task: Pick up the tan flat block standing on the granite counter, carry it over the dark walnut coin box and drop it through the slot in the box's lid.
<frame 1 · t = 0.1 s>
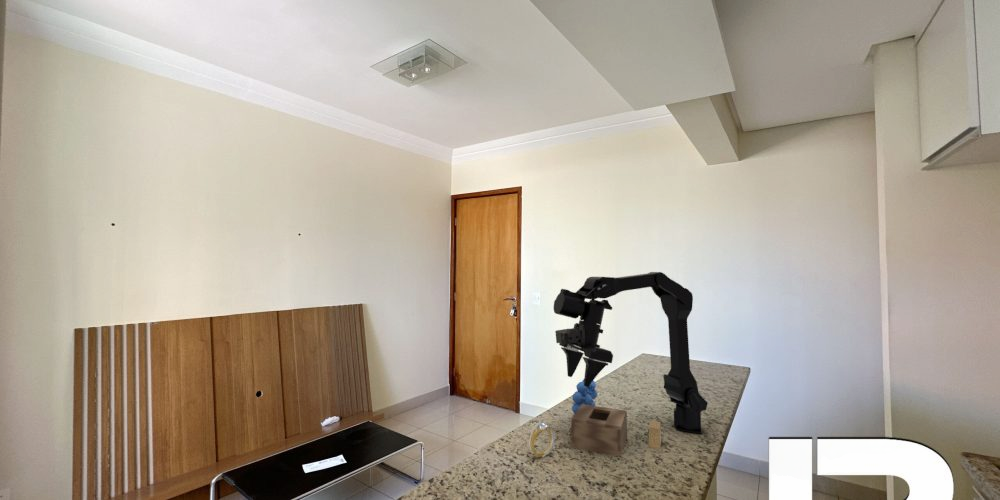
hand: (577, 381, 101), 15 cm above the countertop, tool pointing down, fingers open, 9 cm apart
tan flat block: (655, 444, 99), on the countertop
ring: (542, 457, 91), on the countertop
grapes: (582, 418, 116), on the countertop
coin box: (600, 442, 100), on the countertop
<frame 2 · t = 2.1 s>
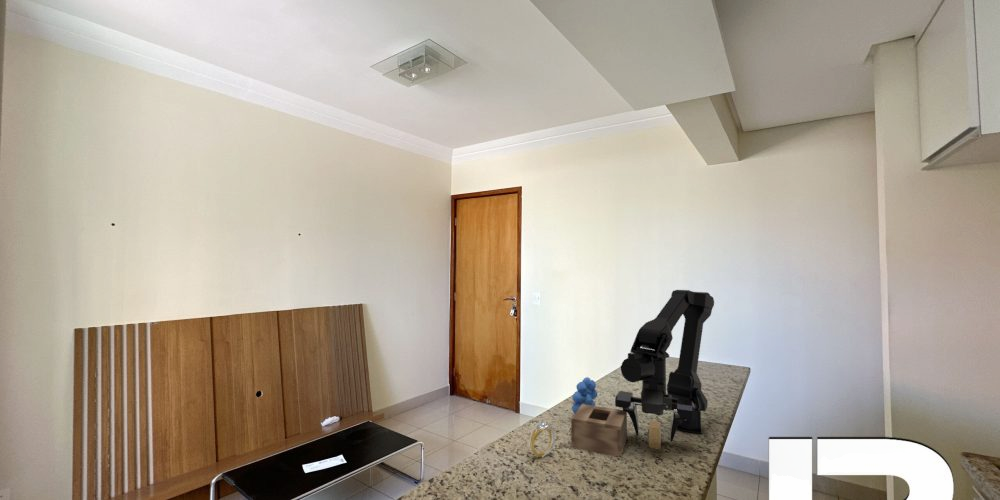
hand: (654, 438, 99), 2 cm above the countertop, tool pointing down, fingers open, 8 cm apart
nothing on the countertop moved.
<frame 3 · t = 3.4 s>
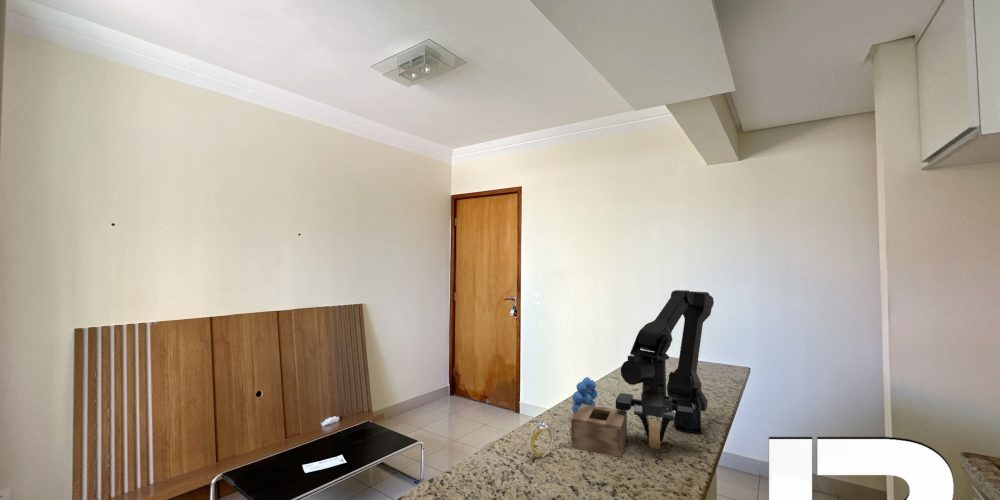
hand: (655, 440, 99), 1 cm above the countertop, tool pointing down, fingers closed on tan flat block, 2 cm apart
tan flat block: (655, 444, 99), on the countertop, touching gripper
everything else where it was.
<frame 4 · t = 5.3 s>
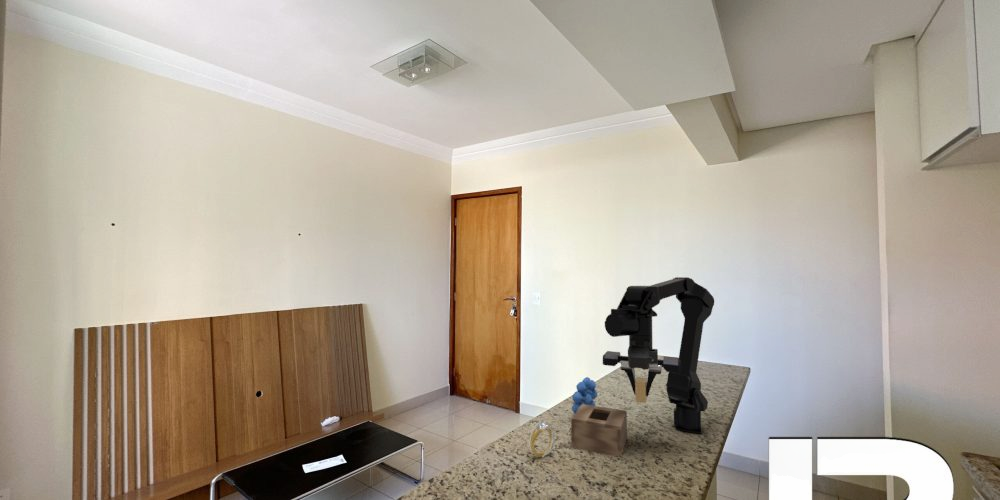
hand: (641, 395, 99), 12 cm above the countertop, tool pointing down, fingers closed on tan flat block, 2 cm apart
tan flat block: (641, 399, 99), point 11 cm above the countertop, touching gripper
everything else where it was.
when the fingers open (8 cm above the countertop, at t = 7.6 s): tan flat block drops 7 cm, resting in coin box.
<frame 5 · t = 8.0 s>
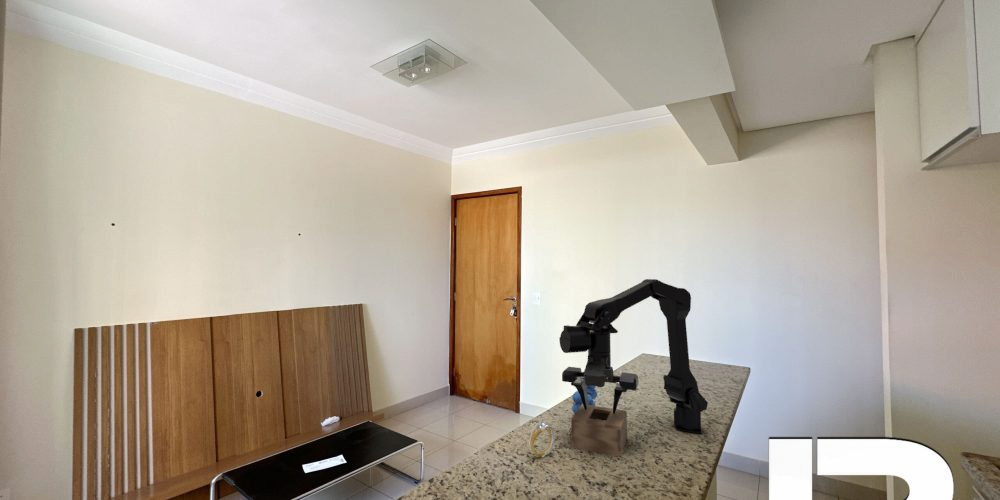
hand: (599, 411, 100), 8 cm above the countertop, tool pointing down, fingers open, 7 cm apart
tan flat block: (599, 442, 100), resting in coin box
everything else where it was.
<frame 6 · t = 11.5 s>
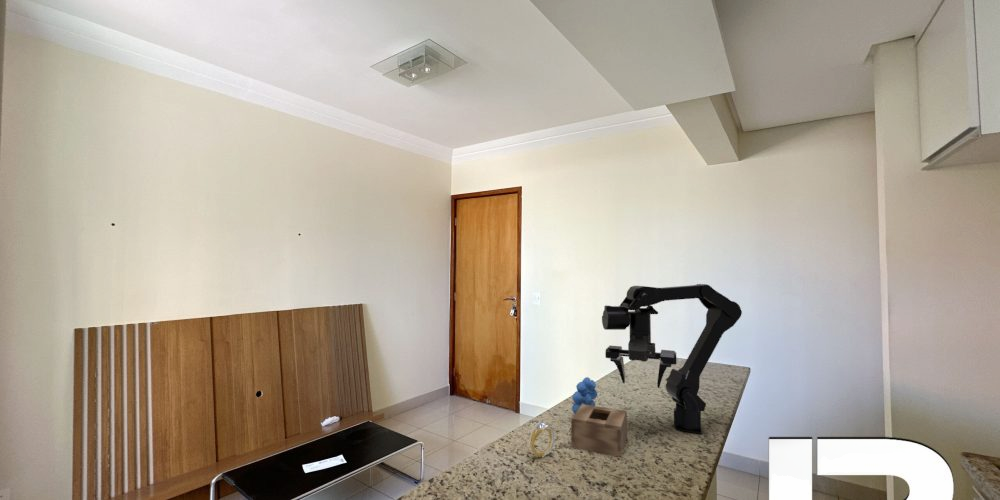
hand: (640, 385, 109), 12 cm above the countertop, tool pointing down, fingers open, 9 cm apart
nothing on the countertop moved.
at the end: tan flat block inside the target area on the coin box (0.1 cm from its centre), point 0.0 cm above the coin box's base; the gripper is holding nothing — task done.
